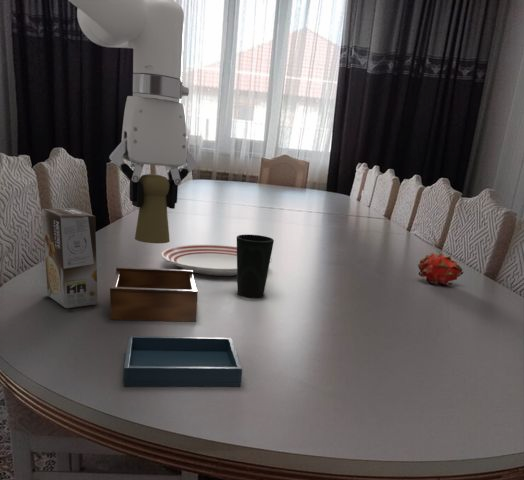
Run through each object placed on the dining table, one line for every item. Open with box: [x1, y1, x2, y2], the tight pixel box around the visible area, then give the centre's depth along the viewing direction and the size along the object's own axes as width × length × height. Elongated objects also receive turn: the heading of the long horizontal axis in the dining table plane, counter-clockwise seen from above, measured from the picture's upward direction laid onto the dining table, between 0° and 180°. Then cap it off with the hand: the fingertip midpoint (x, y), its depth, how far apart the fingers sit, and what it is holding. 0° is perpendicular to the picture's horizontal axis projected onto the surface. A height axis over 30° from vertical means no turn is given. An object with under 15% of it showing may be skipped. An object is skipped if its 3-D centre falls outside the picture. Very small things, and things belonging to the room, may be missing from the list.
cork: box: [134, 173, 171, 244], centre depth 89 cm, size 6×6×11 cm
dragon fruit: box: [417, 252, 464, 286], centre depth 135 cm, size 8×8×12 cm
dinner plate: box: [160, 244, 272, 277], centre depth 130 cm, size 28×27×3 cm
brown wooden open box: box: [109, 266, 199, 323], centre depth 96 cm, size 15×15×6 cm
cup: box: [236, 234, 275, 299], centre depth 108 cm, size 8×8×12 cm
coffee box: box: [41, 207, 99, 309], centre depth 93 cm, size 9×6×16 cm
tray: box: [123, 335, 243, 387], centre depth 73 cm, size 15×11×3 cm
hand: (153, 205), depth 89 cm, fingers closed on cork, 5 cm apart
